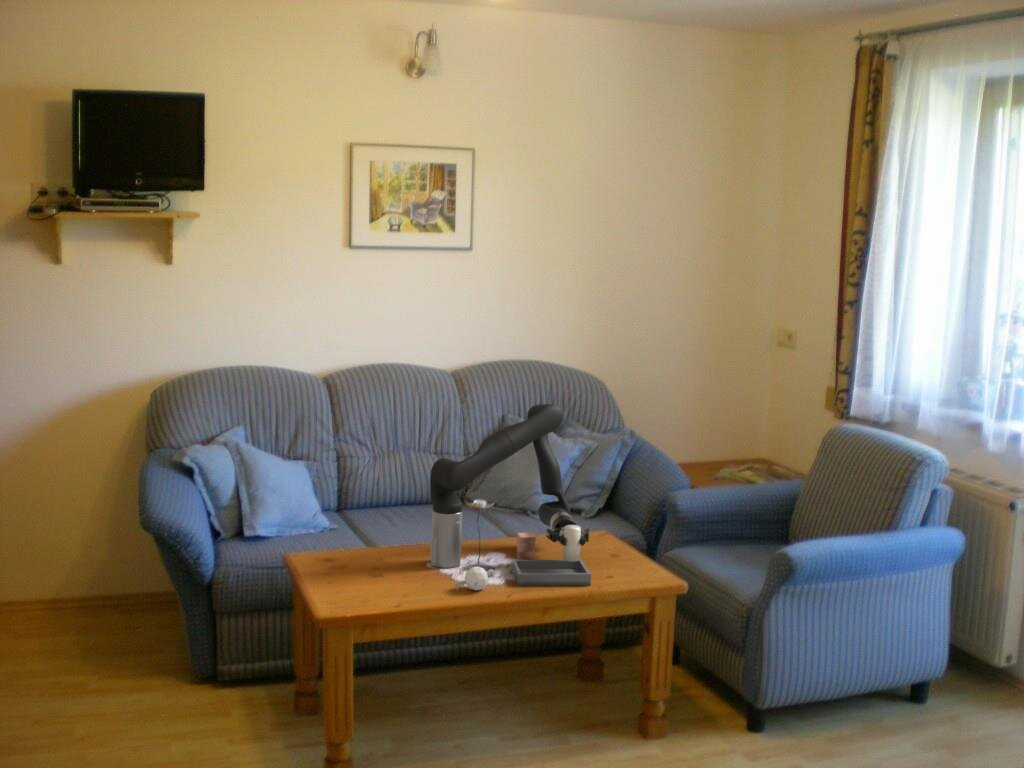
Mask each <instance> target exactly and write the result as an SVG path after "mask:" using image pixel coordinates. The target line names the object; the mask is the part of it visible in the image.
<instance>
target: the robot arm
mask: <svg viewBox="0 0 1024 768" xmlns="http://www.w3.org/2000/svg"><path fill="white" fill-rule="evenodd" d="M563 421H564V411H563V410H562V409H561V407H560V406H558V405H556V404H554V403H542V404H534V405H532V406H531V407H530V408H529V410H528V412H527V416H526V420H523V421H520V422H515V423H513V424H510V425H508V426H505V427H503V428H501V429H500V428H499V429H498V430H496V431H494V432H493V433H491V434H489V435H488V436H486V437H485V438H484V439H483V440H482V441H481V443H480V445H478V446H479V447H478V449H477V450H476V452H475V453H474V454H472V455H470V456H469V457H467V458H465V459H463V460H461V461H457V460H454V459H450V458H445V457H443V458H439V459H437V460H436V461H435V462H434V463H433V465H432V467H431V471H430V477H429V480H430V481H429V483H430V485H429V487H430V488H429V490H430V491H429V492H430V494H429V496H430V502H431V505H432V521H431V523H432V525H431V528H432V529H431V535H430V537H431V538H430V563H431V564H430V565H431V567H437V568H445V569H449V568H452V569H453V568H456V567H459V566H460V565H461V559H462V556H461V554H462V533H463V531H462V530H463V529H462V528H463V527H462V525H463V502H462V501H461V499H460V498H459V497H458V495H457V493H456V492H459V491H462V490H463V489H465V488H466V487H467V486H469V484H471V483H472V482H473V481H475V480H476V479H477V478H479V477H480V476H481V475H482V474H484V473H485V472H487V471H489V470H490V469H492V468H494V467H495V466H497V465H498V464H500V463H502V462H503V461H505V460H507V459H508V458H510V457H512V456H513V455H514V454H516V453H518V452H519V451H521V450H523V449H524V448H525V447H527V446H529V445H530V444H531V443H532V444H533V448H534V451H535V455H536V460H537V465H538V471H539V480H540V481H539V482H540V489H541V493H542V494H543V495H546V496H555V497H556V498H557V500H554V501H548V502H547V501H546V502H542V503H541V504H540V505H539V507H538V512H537V513H538V518H539V520H540V521H541V522H542V524H544V525H545V526H547V527H549V528H546V535H545V537H546V538H547V539H548V540H550V541H551V542H552V543H556V542H558V543H559V544H560V545H562V546H563V547H564V546H566V538H565V537H564V527H565V526H566V525H577V526H578V524H577V523H576V522H575V520H574V519H573V517H572V516H571V513H572V512H571V508H570V505H569V503H568V501H567V498H566V496H565V492H564V487H563V481H562V473H561V468H560V464H559V462H558V460H557V459H558V458H557V457H556V455H555V454H554V451H553V450H552V447H551V444H550V441H549V434H551V433H553V432H555V431H557V430H558V429H559V428H560V427H561V426H562V424H563ZM589 540H590V528H585V529H584V530H581V537H580V547H583V546H584V545H586V543H588V542H589Z"/></svg>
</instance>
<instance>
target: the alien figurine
mask: <svg viewBox="0 0 1024 768" xmlns="http://www.w3.org/2000/svg"><path fill="white" fill-rule="evenodd" d="M494 574H495V572H494V570H493V569H492V568H490V569H488V570H487V571H486V570H485V568H483V567H480V566H472V567H471V568H469V569H468V570H467V571H466V572H465V575H464V581H463V580H461V581H459V582H457V583H455V584H454V586H455V590H456V591H459V588H460V587H462V586H464V585H466V586H467V587H468V589H469V590H472V591H475V592H477V591H481V590H482V589H484V588H486V586H487V584H488V581H489V578H491V577H493V576H494Z"/></svg>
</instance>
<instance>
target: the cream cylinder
mask: <svg viewBox="0 0 1024 768" xmlns="http://www.w3.org/2000/svg"><path fill="white" fill-rule="evenodd" d="M581 528H582V527H581V526H579V525H578V524H577V525H566V526H565V527H564V537H565V538H566V546H563V554H562V555H563V556H562V558H563V559H562V560H566V561H578V560H581V557H580V556H581V555H580V554H581V544H580V537H581V531H582V529H581Z"/></svg>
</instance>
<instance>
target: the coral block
mask: <svg viewBox="0 0 1024 768" xmlns="http://www.w3.org/2000/svg"><path fill="white" fill-rule="evenodd" d="M536 537H537V536H536V535H535V534H534V532H517V541H516V559H515V560H536V544H537V543H536V539H537V538H536Z"/></svg>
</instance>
